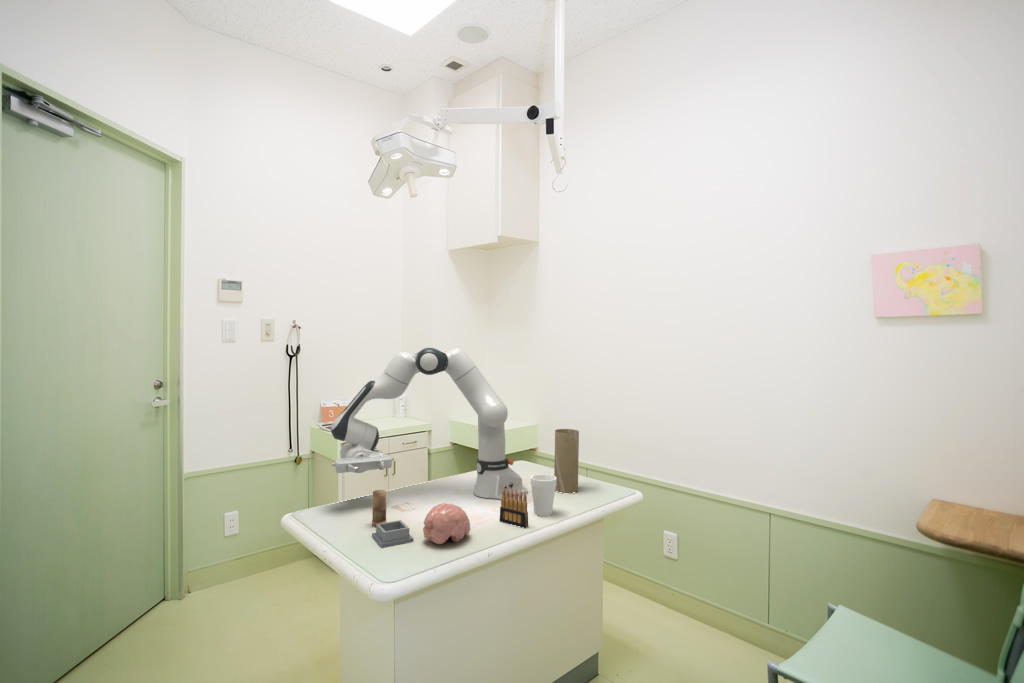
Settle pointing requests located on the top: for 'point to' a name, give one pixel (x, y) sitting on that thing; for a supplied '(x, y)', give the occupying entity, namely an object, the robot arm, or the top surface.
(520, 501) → the ammunition clip
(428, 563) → the top surface
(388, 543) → the socket block
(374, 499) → the brown rounded peg
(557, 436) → the tube
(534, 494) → the foam cup
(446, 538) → the brain
